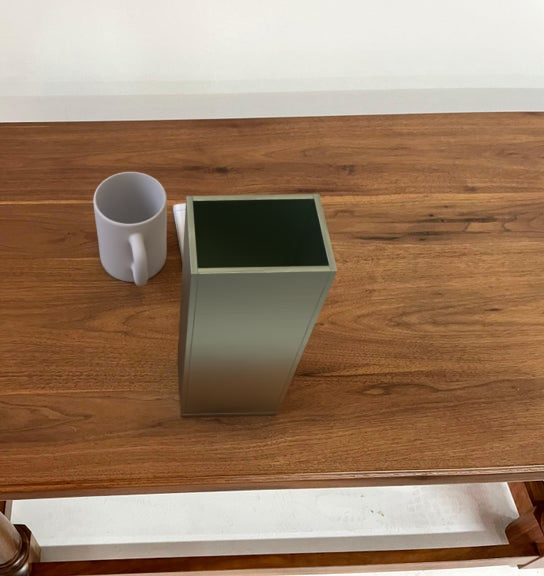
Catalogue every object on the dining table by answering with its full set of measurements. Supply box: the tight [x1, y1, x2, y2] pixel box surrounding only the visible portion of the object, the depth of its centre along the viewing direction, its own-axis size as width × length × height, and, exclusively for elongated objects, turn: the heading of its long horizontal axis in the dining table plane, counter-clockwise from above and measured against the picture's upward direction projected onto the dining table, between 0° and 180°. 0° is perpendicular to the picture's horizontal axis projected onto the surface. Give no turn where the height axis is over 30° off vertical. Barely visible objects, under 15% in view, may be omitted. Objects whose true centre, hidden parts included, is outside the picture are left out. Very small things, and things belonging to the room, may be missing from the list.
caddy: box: [177, 193, 338, 418], centre depth 56 cm, size 10×8×27 cm
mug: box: [93, 171, 168, 287], centre depth 72 cm, size 12×8×11 cm
